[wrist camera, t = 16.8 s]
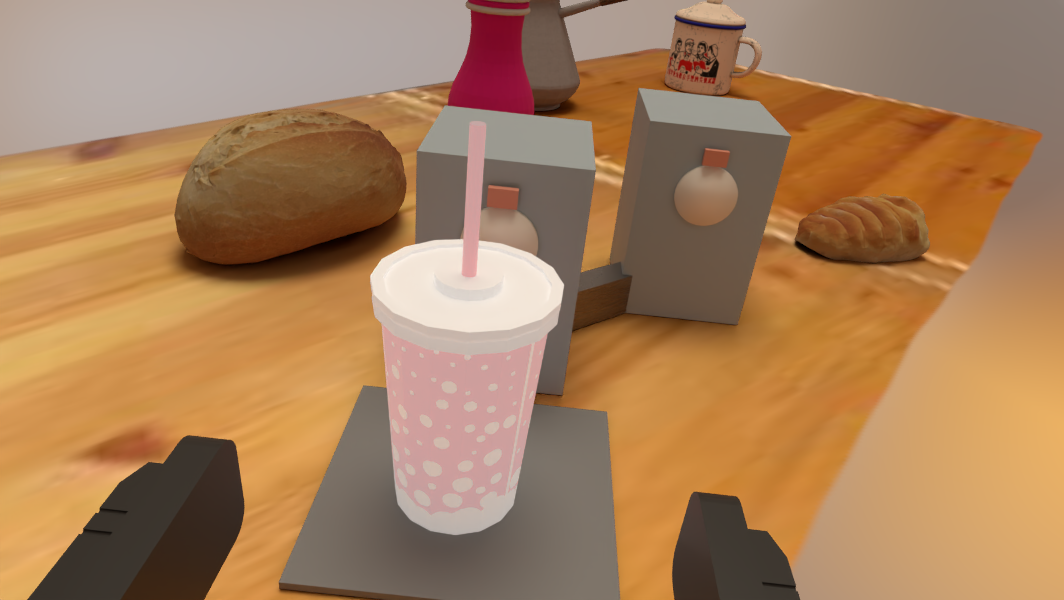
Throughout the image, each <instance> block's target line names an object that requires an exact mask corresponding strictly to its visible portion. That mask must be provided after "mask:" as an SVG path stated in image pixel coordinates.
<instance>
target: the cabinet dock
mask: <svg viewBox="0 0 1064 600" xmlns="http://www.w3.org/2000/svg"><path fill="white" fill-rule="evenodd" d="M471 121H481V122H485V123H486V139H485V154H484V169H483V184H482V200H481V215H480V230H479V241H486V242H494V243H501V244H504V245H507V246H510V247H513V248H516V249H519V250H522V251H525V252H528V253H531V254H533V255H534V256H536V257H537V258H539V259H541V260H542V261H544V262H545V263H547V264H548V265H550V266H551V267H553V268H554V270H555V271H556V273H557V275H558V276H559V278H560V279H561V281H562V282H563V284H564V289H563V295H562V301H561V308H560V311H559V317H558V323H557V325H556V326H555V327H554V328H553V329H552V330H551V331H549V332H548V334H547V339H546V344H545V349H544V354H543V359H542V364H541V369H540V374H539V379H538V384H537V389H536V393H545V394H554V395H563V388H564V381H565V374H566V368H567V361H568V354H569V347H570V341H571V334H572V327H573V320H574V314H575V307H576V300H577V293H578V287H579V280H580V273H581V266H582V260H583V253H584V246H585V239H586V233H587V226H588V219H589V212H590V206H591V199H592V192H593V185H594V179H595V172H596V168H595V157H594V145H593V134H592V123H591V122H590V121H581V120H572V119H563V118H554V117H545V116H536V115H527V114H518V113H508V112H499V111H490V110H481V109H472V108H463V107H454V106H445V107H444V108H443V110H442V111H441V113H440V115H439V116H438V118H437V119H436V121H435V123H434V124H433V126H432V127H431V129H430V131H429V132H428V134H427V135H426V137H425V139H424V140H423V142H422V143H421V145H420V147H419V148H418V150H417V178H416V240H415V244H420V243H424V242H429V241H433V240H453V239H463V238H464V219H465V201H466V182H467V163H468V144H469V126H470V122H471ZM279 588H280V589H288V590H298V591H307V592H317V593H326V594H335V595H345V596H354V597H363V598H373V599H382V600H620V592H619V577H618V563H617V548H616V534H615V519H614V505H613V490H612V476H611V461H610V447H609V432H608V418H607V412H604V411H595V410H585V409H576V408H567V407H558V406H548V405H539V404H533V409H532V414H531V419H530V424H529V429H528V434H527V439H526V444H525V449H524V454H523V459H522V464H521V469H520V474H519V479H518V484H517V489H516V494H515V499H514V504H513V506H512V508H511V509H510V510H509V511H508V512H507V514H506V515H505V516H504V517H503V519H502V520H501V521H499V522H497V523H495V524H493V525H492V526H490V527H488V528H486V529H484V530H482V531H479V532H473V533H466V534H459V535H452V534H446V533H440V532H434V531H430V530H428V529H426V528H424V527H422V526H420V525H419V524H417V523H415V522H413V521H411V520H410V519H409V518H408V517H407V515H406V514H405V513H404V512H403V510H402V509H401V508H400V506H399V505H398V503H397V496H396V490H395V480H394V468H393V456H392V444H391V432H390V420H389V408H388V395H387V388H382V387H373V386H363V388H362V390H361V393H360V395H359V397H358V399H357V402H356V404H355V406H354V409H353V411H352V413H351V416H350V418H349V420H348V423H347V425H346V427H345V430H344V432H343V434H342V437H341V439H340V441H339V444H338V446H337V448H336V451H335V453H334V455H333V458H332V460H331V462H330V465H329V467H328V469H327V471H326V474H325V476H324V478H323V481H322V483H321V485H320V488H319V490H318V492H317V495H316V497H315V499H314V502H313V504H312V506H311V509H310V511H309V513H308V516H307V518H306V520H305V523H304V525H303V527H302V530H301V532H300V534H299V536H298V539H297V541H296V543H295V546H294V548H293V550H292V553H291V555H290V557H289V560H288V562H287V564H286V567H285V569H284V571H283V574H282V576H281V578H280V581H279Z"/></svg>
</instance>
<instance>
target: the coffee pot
mask: <svg viewBox="0 0 1064 600" xmlns="http://www.w3.org/2000/svg"><path fill="white" fill-rule="evenodd" d="M622 1H626V0H590V1H587V2H583V3H579V4H575V5H572V6H568V7H564V8H561V6H560V3H559V2H560V0H531V1H529V4H530V5H529V8H530V10H531V11H530V13H529V14H527V15H525V17H524V23H523V29H522V57H523V63H524V67H525V71H526V74H527V77H528V80H529V83H530V87H531V90H532V94H533V99H534V111H547V110H553V109H556V108H558V107H559V106H560V103H562V102H564V101H566V100H567V99H569V98H570V97H571V96H572V95H573V94H574V93H575V92H576V90H577V88H578V86H579V84H580V80H579V75H578V71H577V68H576V64H575V60H574V56H573V52H572V48H571V45H570V41H569V37H568V33H567V29H566V26H565V22H564V17H567V16H570V15H573V14H577V13H580V12H583V11H586V10H588V9H592V8H595V7H598V6H604V5H609V4H613V3H618V2H622Z"/></svg>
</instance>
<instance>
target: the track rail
mask: <svg viewBox="0 0 1064 600" xmlns="http://www.w3.org/2000/svg"><path fill="white" fill-rule="evenodd" d="M632 277H633V276H631V275H622V268H621V262H617V263H614V264H610V265H607V266H603V267H600V268H596V269H592V270H589V271H585V272H582V273H580V280H579V287H578V293H577V300H576V307H575V314H574V320H573V327H572V331H573V330H576V329H579V328H582V327H585V326H588V325H591V324H594V323H597V322H600V321H603V320H606V319H609V318H611V317H614V316H617V315H620V314H623V313H626V308H627V303H628V298H629V292H630V287H631V282H632Z"/></svg>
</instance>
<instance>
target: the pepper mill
mask: <svg viewBox="0 0 1064 600" xmlns="http://www.w3.org/2000/svg"><path fill="white" fill-rule="evenodd" d="M529 1H531V0H468V1H467V2H466V7H467V8H468V9H470V10H471V24H472V26H471V35H470V43H469V47H468V50H467V54H466V57H465V59H464V62H463V64H462V66H461V68H460V70H459V72H458V74H457V76H456V78H455V80H454V82H453V85H452V88H451V91H450V94H449V99H448V106H454V107H463V108H472V109H481V110H490V111H499V112H508V113H518V114H527V115H534V99H533V94H532V90H531V87H530V83H529V80H528V77H527V74H526V71H525V67H524V63H523V57H522V29H523V23H524V17H525V15H527V14H529V13H530V11H531V10H530V8H529V5H530V4H529Z"/></svg>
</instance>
